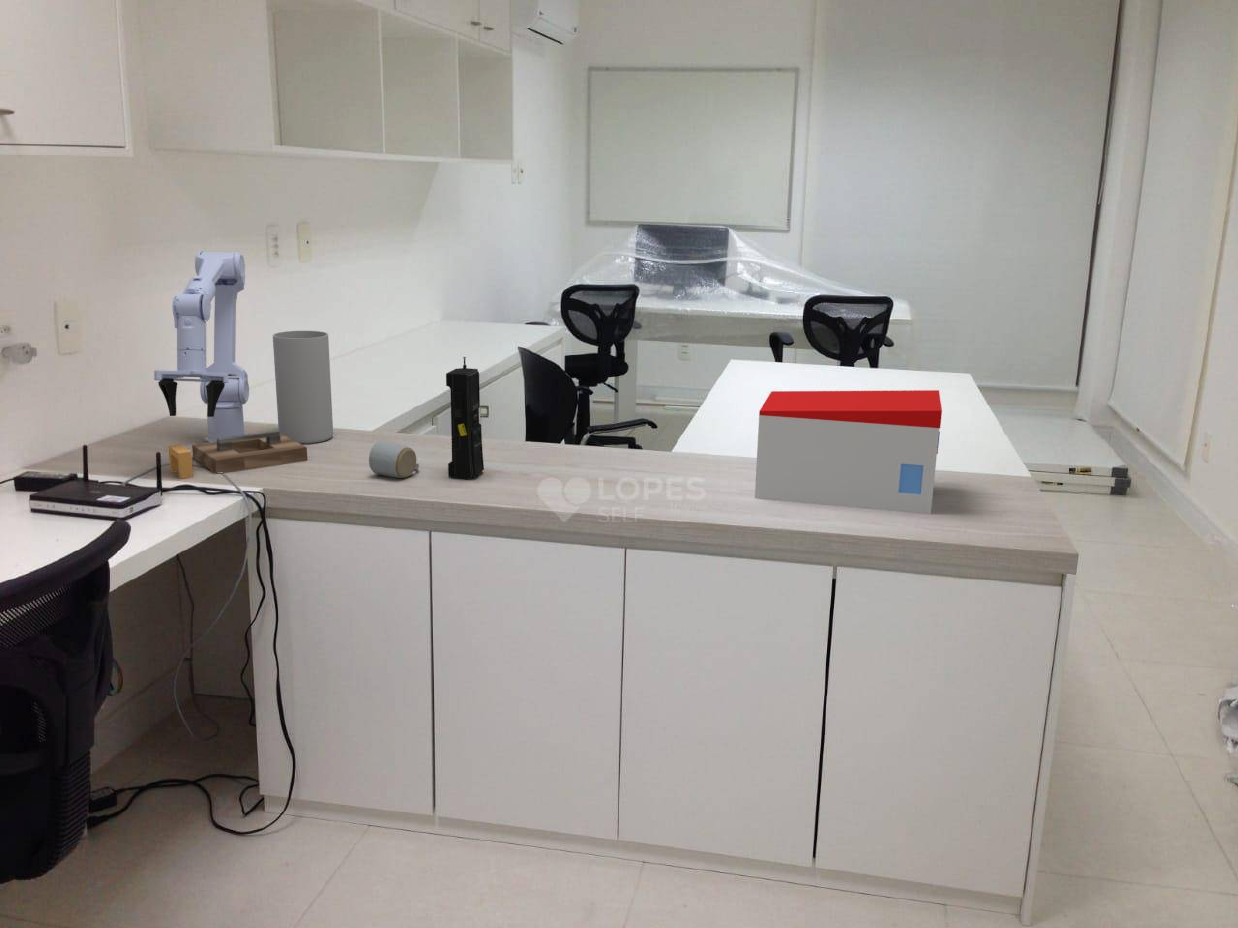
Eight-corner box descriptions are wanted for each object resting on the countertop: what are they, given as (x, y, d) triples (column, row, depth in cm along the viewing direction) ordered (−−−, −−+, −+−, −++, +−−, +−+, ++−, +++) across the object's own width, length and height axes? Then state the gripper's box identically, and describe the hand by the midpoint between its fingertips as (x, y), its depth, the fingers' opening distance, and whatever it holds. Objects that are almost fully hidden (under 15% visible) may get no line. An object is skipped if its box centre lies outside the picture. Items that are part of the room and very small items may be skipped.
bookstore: (932, 514, 215) (943, 410, 209) (754, 498, 223) (760, 398, 217) (930, 486, 234) (940, 390, 229) (766, 472, 242) (772, 379, 237)
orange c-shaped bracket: (170, 470, 234) (168, 445, 232) (182, 469, 235) (180, 444, 234) (181, 479, 228) (178, 453, 226) (193, 477, 229) (191, 451, 228)
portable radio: (473, 481, 230) (471, 364, 224) (446, 479, 231) (443, 362, 225) (485, 471, 238) (483, 357, 231) (458, 469, 239) (456, 356, 232)
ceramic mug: (398, 482, 229) (397, 448, 227) (368, 477, 232) (367, 443, 230) (428, 472, 237) (427, 438, 236) (398, 467, 241) (398, 434, 239)
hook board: (193, 457, 244) (190, 433, 243) (280, 445, 256) (279, 422, 255) (216, 474, 232) (214, 448, 231) (307, 460, 244) (306, 436, 242)
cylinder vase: (268, 441, 260) (261, 336, 253) (302, 430, 271) (296, 329, 264) (311, 447, 255) (305, 340, 249) (343, 435, 266) (339, 333, 260)
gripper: (160, 347, 221) (161, 414, 221) (233, 351, 230) (233, 416, 230) (151, 350, 227) (151, 416, 227) (222, 354, 236) (222, 417, 236)
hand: (192, 416), depth 229 cm, fingers open, 7 cm apart
